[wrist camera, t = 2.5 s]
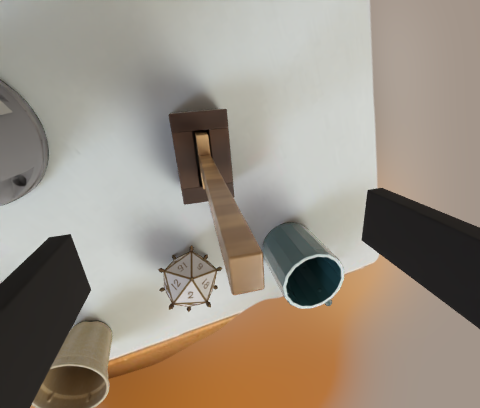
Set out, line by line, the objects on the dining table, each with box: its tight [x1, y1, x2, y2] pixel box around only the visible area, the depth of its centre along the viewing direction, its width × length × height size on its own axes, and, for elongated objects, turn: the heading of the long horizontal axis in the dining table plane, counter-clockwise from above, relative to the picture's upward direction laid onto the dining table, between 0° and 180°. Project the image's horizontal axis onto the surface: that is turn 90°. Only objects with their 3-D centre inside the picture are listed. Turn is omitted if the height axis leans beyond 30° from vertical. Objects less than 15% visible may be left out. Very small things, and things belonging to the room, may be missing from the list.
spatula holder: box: [169, 109, 234, 204], centre depth 31 cm, size 10×6×6 cm, turn 5°
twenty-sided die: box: [158, 246, 222, 312], centre depth 35 cm, size 9×8×10 cm
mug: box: [262, 222, 344, 308], centre depth 38 cm, size 12×9×10 cm
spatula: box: [194, 130, 264, 295], centre depth 20 cm, size 6×1×26 cm, turn 5°
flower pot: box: [32, 321, 112, 408], centre depth 36 cm, size 9×9×9 cm
